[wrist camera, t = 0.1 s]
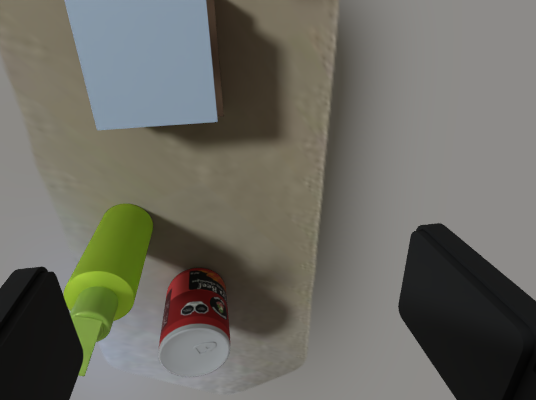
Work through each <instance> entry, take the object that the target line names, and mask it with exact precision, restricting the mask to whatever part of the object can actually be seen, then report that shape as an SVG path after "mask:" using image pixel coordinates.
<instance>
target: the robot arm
mask: <svg viewBox="0 0 536 400" xmlns="http://www.w3.org/2000/svg"><path fill="white" fill-rule="evenodd" d="M398 307H399V313H400V315H401V318H402V319H403V321H404V322H405V324H406V325H407V327H408V328H409V330H410V331H411V333H412V334H413V336H414V337H415V339H416V340H417V341H418V343H419V344H420V346H421V347H422V349H423V350H424V352H425V353H426V355H427V356H428V358H429V359H430V361H431V362H432V364H433V365H434V367H435V368H436V370H437V371H438V372H439V374H440V376H441V377H442V379H443V380H444V382H445V383H446V385H447V386H448V387H449V389H450V390H451V392H452V393H453V395H454V396H455V398H456V399H457V400H536V301H535V300H533V299H532V298H531V297H530V296H529V295H528V294H526V293H525V292H524V291H523V290H521V289H520V288H519V287H518V286H517V285H516V284H514V283H513V282H512V281H511V280H510V279H508V278H507V277H506V276H505V275H503V274H502V273H501V272H500V271H499V270H497V269H496V268H495V267H494V266H493V265H491V264H490V263H489V262H488V261H487V260H485V259H484V258H483V257H482V256H481V255H479V254H478V253H477V252H476V251H474V250H473V249H472V248H471V247H470V246H469V245H467V244H466V243H465V242H464V241H462V240H461V239H460V238H459V237H458V236H457V235H455V234H454V233H453V232H452V231H450V230H449V229H448V228H447V227H445V226H444V225H443V224H439V223H438V224H428V225H420V226H418V228H417V229H416V231H414V232H413V233H412V234H411V238H410V244H409V249H408V255H407V261H406V266H405V271H404V277H403V282H402V288H401V294H400V299H399V306H398ZM82 363H83V348H82V346H81V343H80V340H79V337H78V335H77V332H76V329H75V326H74V324H73V321H72V318H71V315H70V313H69V310H68V307H67V304H66V302H65V299H64V296H63V293H62V291H61V288H60V285H59V282H58V280H57V277H56V275H55V273H54V272H48V271H47V269H46V268H45V267H36V268H25V269H18V270H15V271H14V272H13V273H12V274H11V275H10V276H9V278H8V279H7V280H6V282H5V283H4V284H3V285H2V287H1V288H0V400H69V399H70V396H71V394H72V391H73V388H74V385H75V383H76V380H77V377H78V374H79V372H80V369H81V366H82Z"/></svg>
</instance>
